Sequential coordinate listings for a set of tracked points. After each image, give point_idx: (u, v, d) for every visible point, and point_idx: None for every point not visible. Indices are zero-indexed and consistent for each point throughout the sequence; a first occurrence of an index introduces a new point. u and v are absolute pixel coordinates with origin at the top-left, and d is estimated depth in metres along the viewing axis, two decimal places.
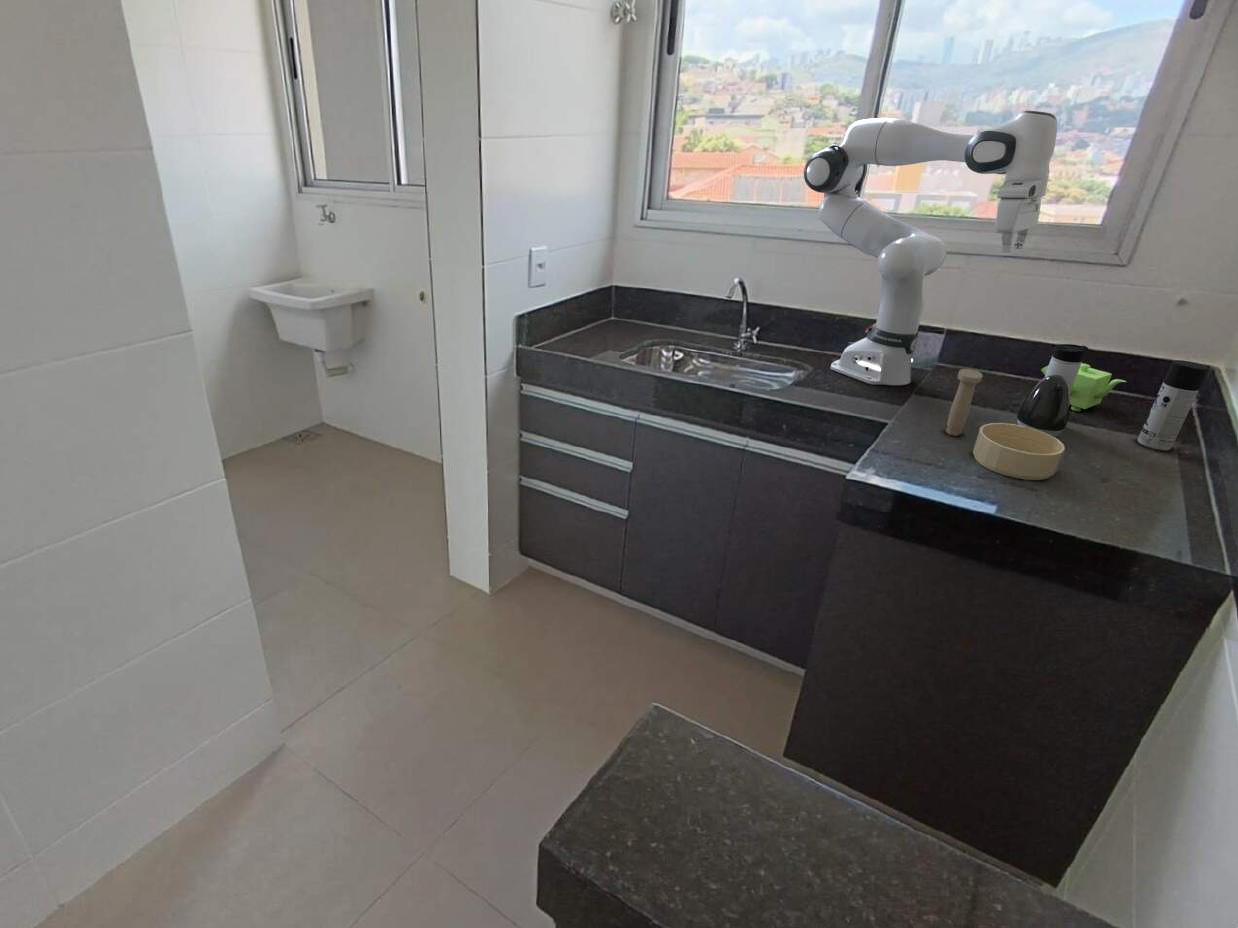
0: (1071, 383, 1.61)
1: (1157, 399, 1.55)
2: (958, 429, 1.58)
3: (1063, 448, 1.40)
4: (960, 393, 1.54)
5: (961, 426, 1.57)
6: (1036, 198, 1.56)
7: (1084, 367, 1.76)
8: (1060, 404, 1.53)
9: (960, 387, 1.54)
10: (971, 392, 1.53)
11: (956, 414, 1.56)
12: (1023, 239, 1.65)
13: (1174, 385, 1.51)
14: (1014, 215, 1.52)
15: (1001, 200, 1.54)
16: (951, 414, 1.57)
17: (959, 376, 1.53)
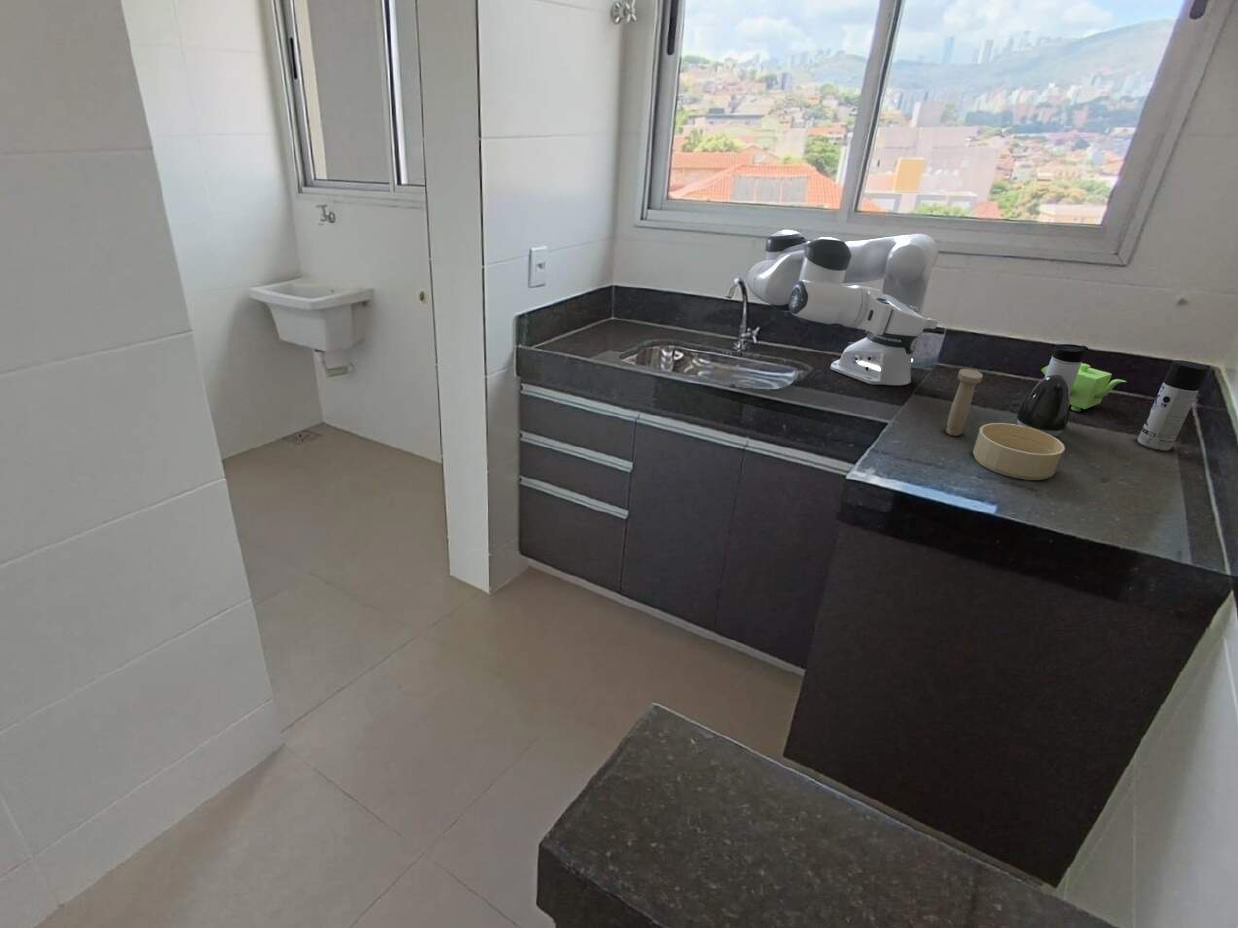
0: (1071, 383, 1.61)
1: (1157, 399, 1.55)
2: (958, 429, 1.58)
3: (1063, 448, 1.40)
4: (960, 393, 1.54)
5: (961, 426, 1.57)
6: None
7: (1084, 367, 1.76)
8: (1060, 404, 1.53)
9: (960, 387, 1.54)
10: (971, 392, 1.53)
11: (956, 414, 1.56)
12: (907, 307, 1.51)
13: (1174, 384, 1.51)
14: (910, 318, 1.37)
15: (887, 330, 1.39)
16: (951, 414, 1.57)
17: (959, 376, 1.53)
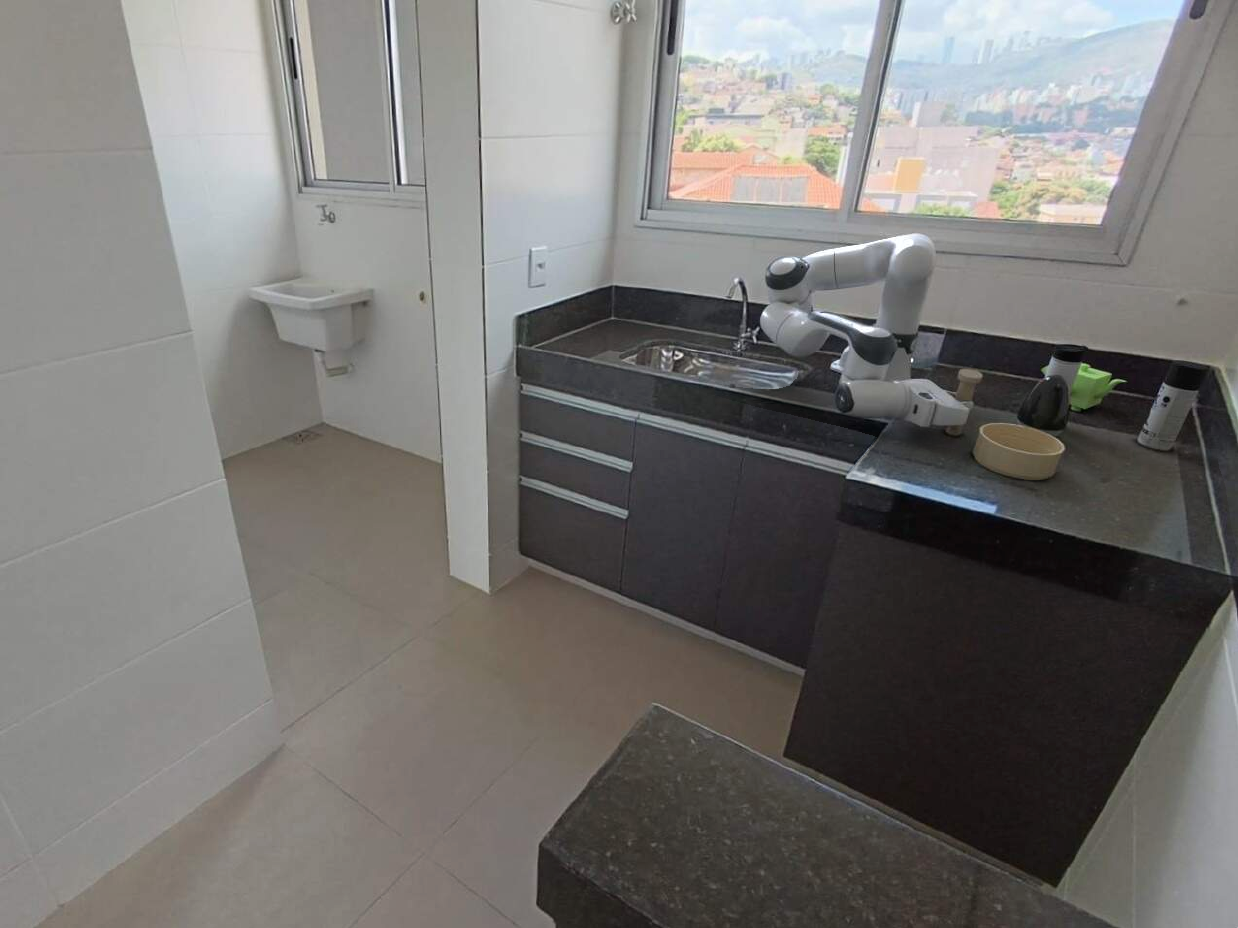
0: (1071, 383, 1.61)
1: (1157, 399, 1.55)
2: (958, 429, 1.58)
3: (1063, 448, 1.40)
4: (960, 393, 1.54)
5: (961, 426, 1.57)
6: None
7: (1084, 367, 1.76)
8: (1060, 404, 1.53)
9: (960, 387, 1.54)
10: (971, 392, 1.53)
11: None
12: (952, 394, 1.58)
13: (1174, 385, 1.51)
14: (954, 410, 1.46)
15: (933, 422, 1.48)
16: None
17: (959, 376, 1.53)
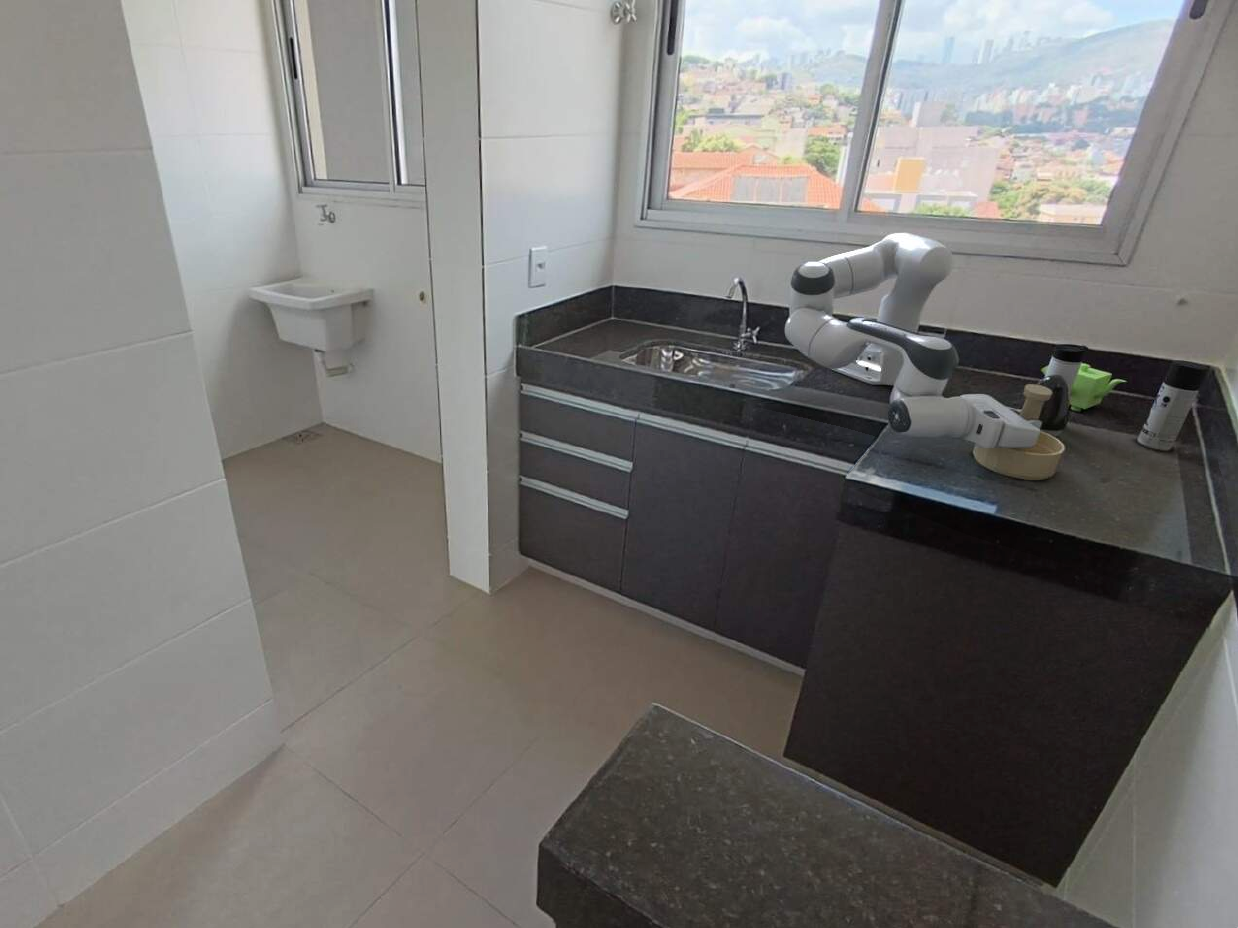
0: (1071, 383, 1.61)
1: (1157, 399, 1.55)
2: (1022, 450, 1.44)
3: (1063, 448, 1.40)
4: (1027, 411, 1.40)
5: (1026, 447, 1.43)
6: None
7: (1084, 367, 1.76)
8: (1060, 404, 1.53)
9: (1026, 404, 1.40)
10: (1039, 410, 1.40)
11: None
12: (1015, 411, 1.44)
13: (1174, 384, 1.51)
14: (1024, 430, 1.32)
15: (1000, 444, 1.34)
16: None
17: (1026, 392, 1.39)
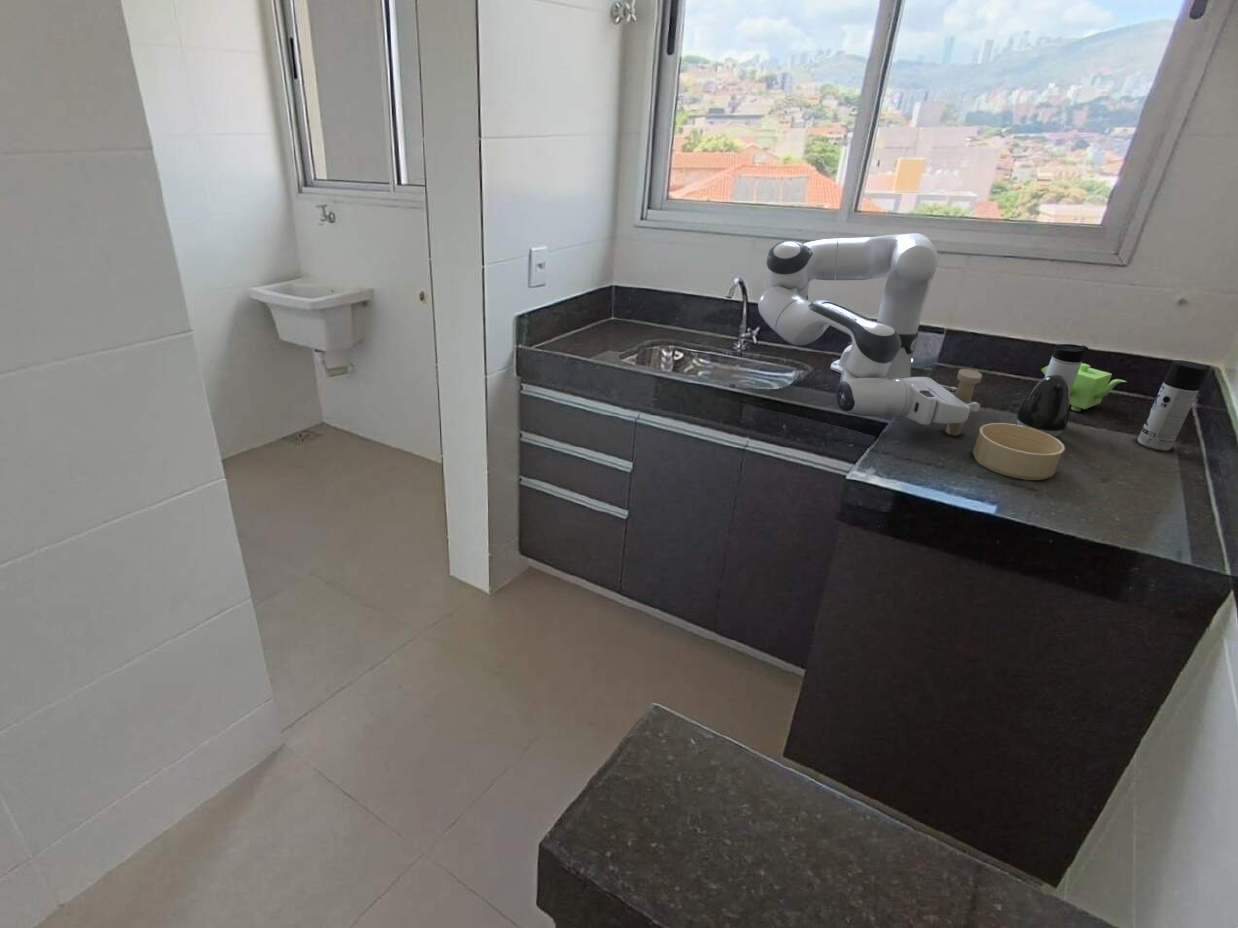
0: (1071, 383, 1.61)
1: (1157, 399, 1.55)
2: (958, 429, 1.58)
3: (1063, 448, 1.40)
4: (960, 393, 1.54)
5: (961, 426, 1.57)
6: None
7: (1084, 367, 1.76)
8: (1060, 404, 1.53)
9: (959, 387, 1.54)
10: (970, 392, 1.53)
11: None
12: (948, 388, 1.60)
13: (1174, 385, 1.51)
14: (955, 407, 1.46)
15: (934, 420, 1.48)
16: None
17: (958, 376, 1.53)
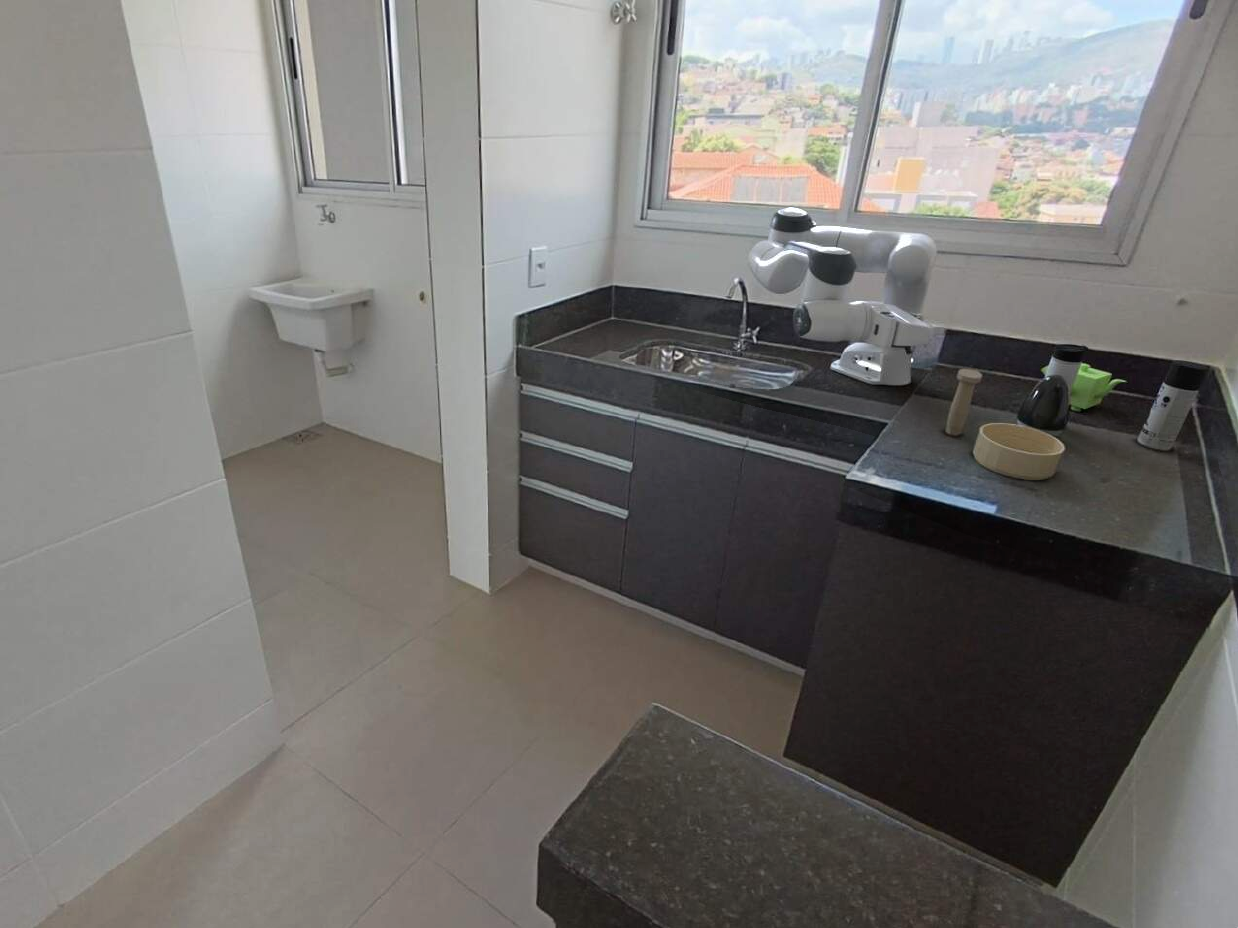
0: (1071, 383, 1.61)
1: (1157, 399, 1.55)
2: (958, 429, 1.58)
3: (1063, 448, 1.40)
4: (960, 393, 1.54)
5: (961, 426, 1.57)
6: None
7: (1084, 367, 1.76)
8: (1060, 404, 1.53)
9: (959, 387, 1.54)
10: (970, 392, 1.53)
11: (955, 414, 1.56)
12: (912, 315, 1.51)
13: (1174, 385, 1.51)
14: (917, 328, 1.37)
15: (895, 343, 1.39)
16: (950, 414, 1.57)
17: (958, 376, 1.53)
